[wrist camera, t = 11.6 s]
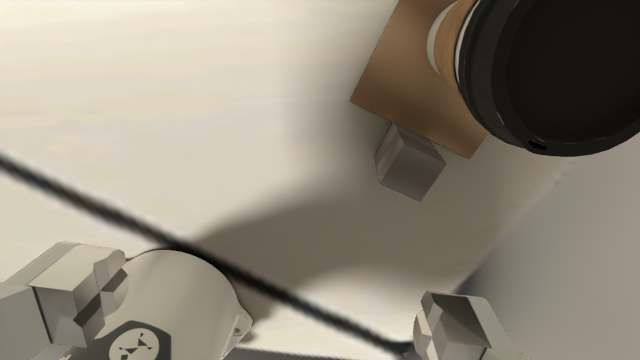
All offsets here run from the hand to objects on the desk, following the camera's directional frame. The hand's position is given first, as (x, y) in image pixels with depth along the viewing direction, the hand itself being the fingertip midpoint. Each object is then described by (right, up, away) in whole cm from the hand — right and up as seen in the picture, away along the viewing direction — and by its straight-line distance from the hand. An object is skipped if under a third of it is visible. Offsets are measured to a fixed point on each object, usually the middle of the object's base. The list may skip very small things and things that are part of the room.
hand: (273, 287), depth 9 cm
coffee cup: (+13, +14, +16) cm, 25 cm away
